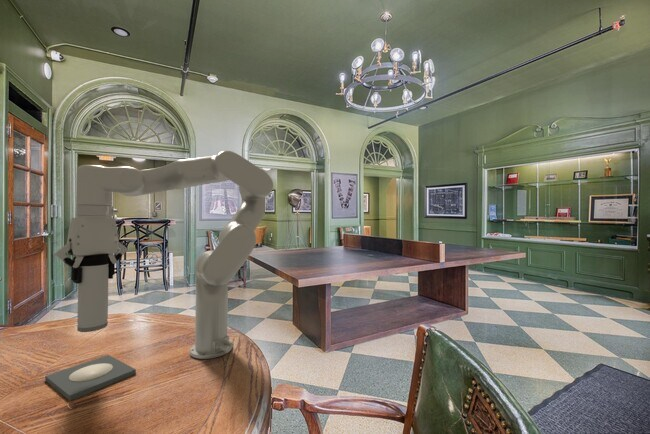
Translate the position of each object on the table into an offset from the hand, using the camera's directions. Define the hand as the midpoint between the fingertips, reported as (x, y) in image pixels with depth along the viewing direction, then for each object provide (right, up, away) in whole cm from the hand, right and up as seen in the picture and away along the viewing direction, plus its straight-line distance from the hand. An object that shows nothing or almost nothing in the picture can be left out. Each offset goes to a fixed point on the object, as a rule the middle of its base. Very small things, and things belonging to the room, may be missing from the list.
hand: (93, 279), depth 77 cm
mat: (0, -25, 0) cm, 25 cm away
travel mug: (0, -13, 0) cm, 13 cm away
